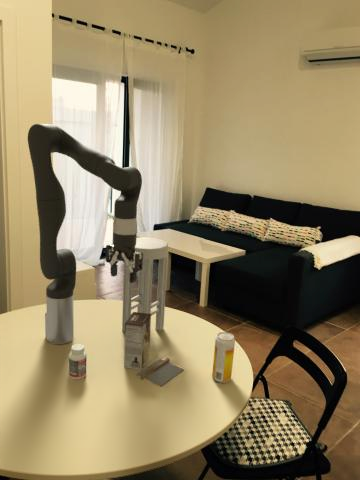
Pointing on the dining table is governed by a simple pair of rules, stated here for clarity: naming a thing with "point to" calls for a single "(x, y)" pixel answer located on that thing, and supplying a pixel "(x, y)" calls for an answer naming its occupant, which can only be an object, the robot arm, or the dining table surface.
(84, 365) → the pill bottle
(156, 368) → the kerb
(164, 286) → the stool
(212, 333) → the dining table surface
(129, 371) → the dining table surface
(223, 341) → the beer can
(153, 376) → the mat
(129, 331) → the coffee box
